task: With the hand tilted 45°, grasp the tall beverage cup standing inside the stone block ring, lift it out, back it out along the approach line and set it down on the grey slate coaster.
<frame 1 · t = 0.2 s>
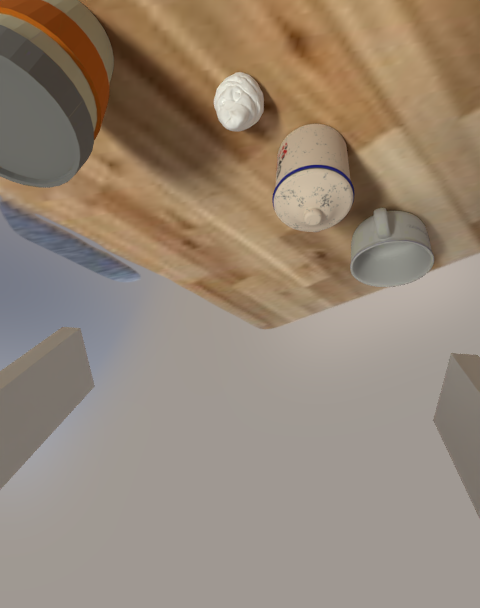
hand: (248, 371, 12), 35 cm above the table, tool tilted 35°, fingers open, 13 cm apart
white meringue swirl: (240, 96, 38), on the table
teacup: (384, 218, 51), on the table
reusable coffee cup: (71, 45, 36), on the table
teacup with lid: (312, 164, 44), on the table
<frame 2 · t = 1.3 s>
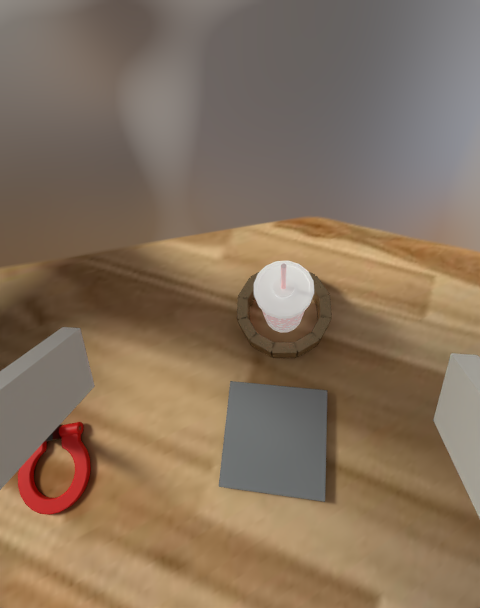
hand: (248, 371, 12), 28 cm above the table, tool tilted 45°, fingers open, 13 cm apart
tow hook: (58, 466, 40), on the table
beverage cup: (283, 315, 43), resting in stone block ring
coaster: (274, 436, 38), on the table
stone block ring: (283, 314, 42), on the table
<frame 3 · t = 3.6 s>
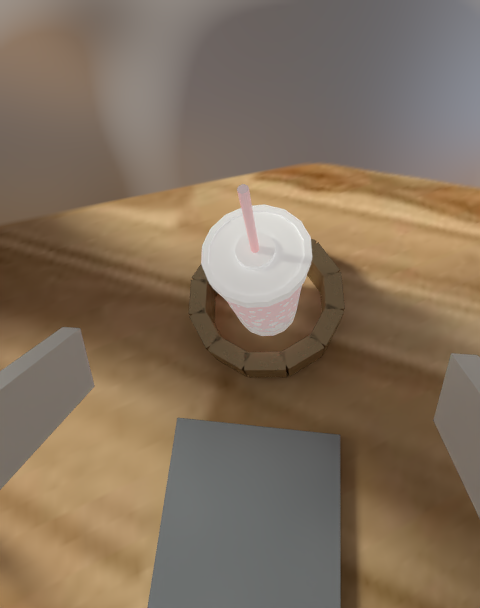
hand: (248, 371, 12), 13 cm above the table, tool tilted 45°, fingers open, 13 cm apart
beverage cup: (267, 309, 27), resting in stone block ring
coaster: (249, 516, 22), on the table
stone block ring: (266, 308, 27), on the table
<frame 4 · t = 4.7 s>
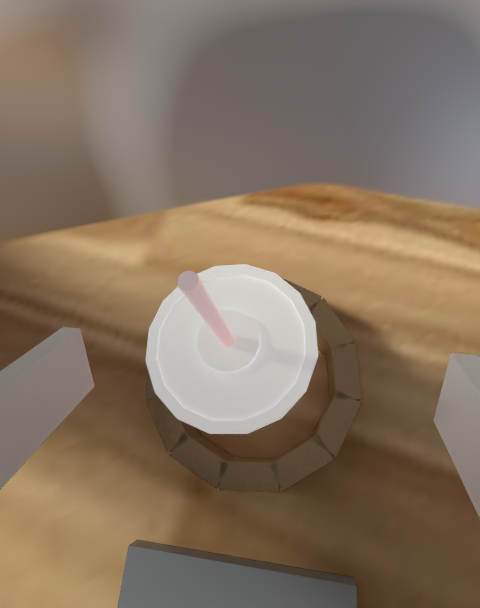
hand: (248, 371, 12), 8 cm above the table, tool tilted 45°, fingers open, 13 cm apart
beverage cup: (255, 380, 20), resting in stone block ring
stone block ring: (255, 380, 20), on the table
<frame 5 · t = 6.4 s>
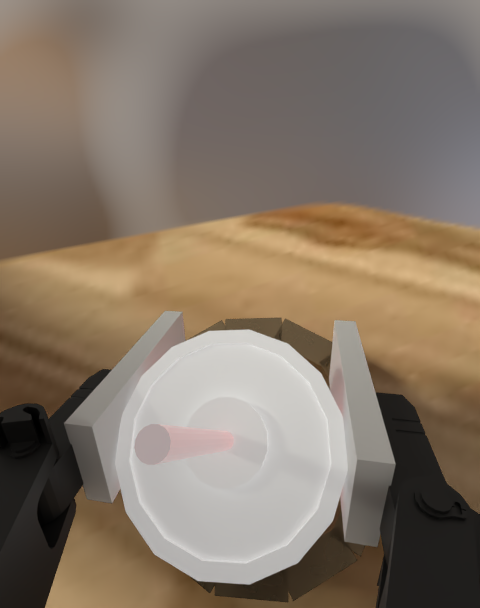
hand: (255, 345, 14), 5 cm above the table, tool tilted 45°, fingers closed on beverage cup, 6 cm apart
beverage cup: (259, 439, 17), resting in stone block ring, touching gripper
stone block ring: (258, 439, 17), on the table
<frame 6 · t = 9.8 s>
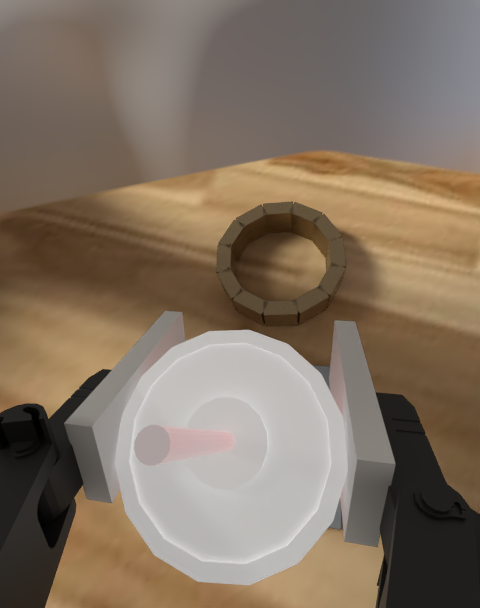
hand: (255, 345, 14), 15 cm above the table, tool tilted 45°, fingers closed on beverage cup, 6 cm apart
beverage cup: (259, 439, 17), point 10 cm above the table, touching gripper
coaster: (267, 433, 27), on the table
stone block ring: (280, 270, 32), on the table
when the fingers open (7 cm above the table, at t = 11.4 s): beverage cup drops 1 cm, resting on coaster.
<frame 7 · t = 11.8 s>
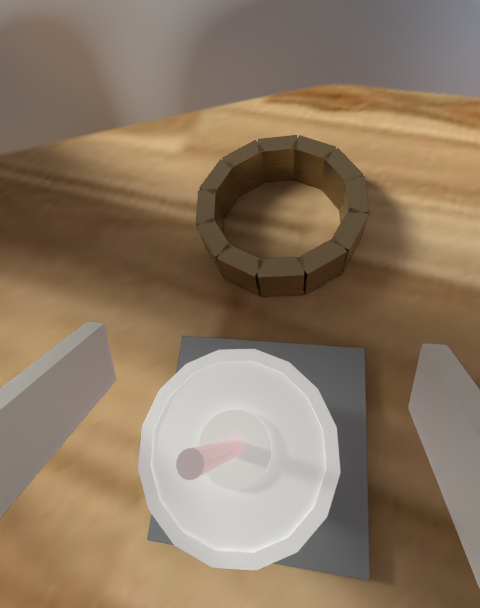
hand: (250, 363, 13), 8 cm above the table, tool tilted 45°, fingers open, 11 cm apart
beverage cup: (259, 439, 19), point 1 cm above the table, touching coaster
coaster: (263, 439, 19), on the table
stone block ring: (280, 227, 24), on the table
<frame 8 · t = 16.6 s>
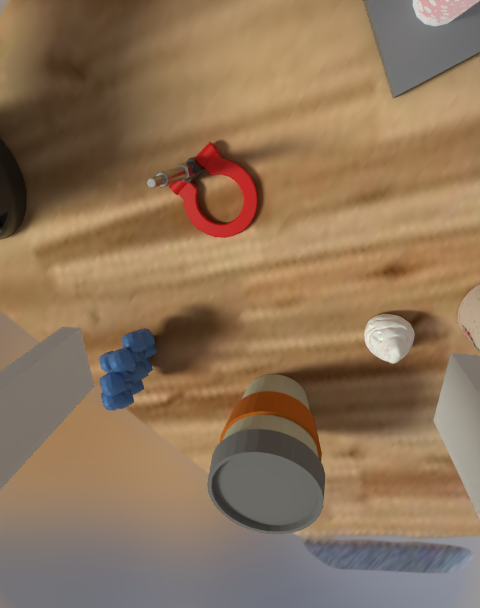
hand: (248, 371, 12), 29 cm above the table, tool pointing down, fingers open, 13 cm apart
white meringue swirl: (386, 330, 41), on the table
tow hook: (219, 195, 39), on the table
reusable coffee cup: (276, 399, 49), on the table
grapes: (144, 341, 49), on the table
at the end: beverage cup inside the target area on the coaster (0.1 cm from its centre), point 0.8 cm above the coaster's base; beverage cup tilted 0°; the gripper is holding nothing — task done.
